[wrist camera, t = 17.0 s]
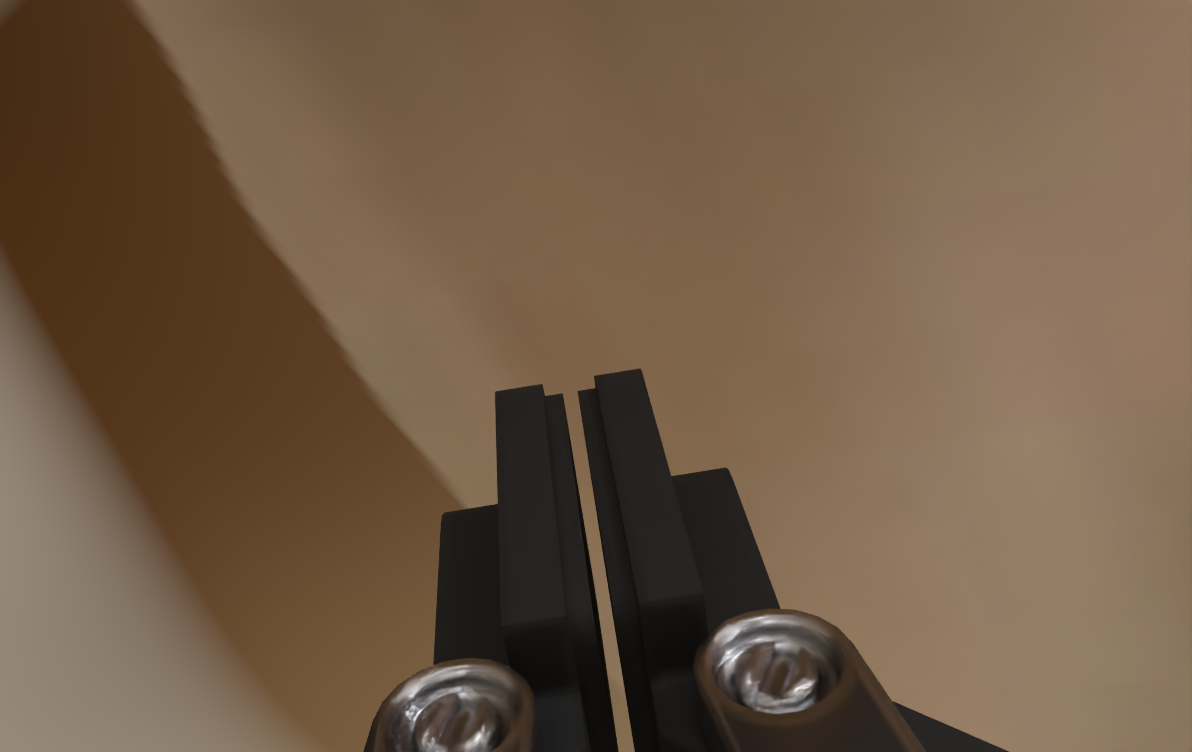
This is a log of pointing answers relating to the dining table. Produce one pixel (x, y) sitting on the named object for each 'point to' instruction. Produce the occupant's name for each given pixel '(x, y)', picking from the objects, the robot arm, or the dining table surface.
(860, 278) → the dining table surface
